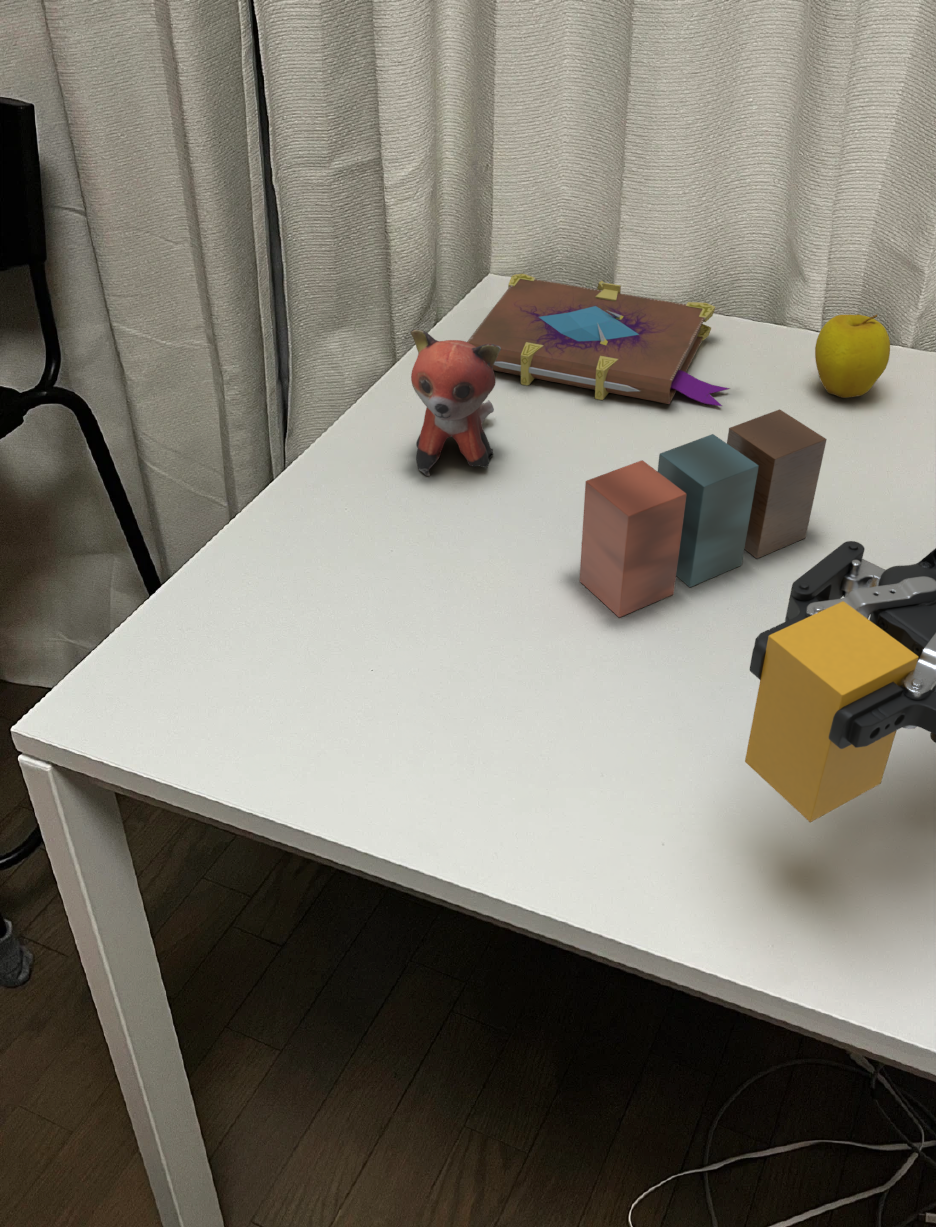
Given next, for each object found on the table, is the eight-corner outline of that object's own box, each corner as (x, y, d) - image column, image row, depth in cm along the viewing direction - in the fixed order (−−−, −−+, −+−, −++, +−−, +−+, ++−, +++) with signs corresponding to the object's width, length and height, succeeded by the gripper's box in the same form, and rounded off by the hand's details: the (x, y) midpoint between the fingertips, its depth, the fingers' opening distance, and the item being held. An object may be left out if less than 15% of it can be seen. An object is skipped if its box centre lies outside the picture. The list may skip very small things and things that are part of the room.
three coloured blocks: (762, 506, 96) (779, 408, 90) (805, 538, 93) (827, 438, 87) (578, 581, 89) (585, 480, 83) (619, 618, 86) (628, 516, 80)
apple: (892, 404, 108) (913, 323, 103) (827, 413, 107) (844, 332, 102) (859, 370, 113) (877, 291, 107) (796, 379, 112) (811, 299, 106)
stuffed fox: (520, 421, 106) (522, 296, 99) (492, 492, 98) (492, 361, 90) (438, 412, 108) (433, 287, 100) (404, 481, 99) (396, 351, 92)
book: (715, 429, 106) (721, 381, 103) (459, 379, 114) (457, 332, 110) (756, 339, 117) (763, 293, 114) (520, 298, 125) (520, 254, 121)
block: (813, 726, 66) (843, 600, 60) (881, 784, 63) (919, 656, 57) (744, 761, 64) (768, 635, 58) (810, 823, 61) (842, 695, 55)
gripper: (944, 459, 67) (707, 558, 60) (1177, 596, 57) (927, 732, 51) (914, 565, 72) (691, 668, 65) (1125, 708, 62) (890, 845, 56)
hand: (796, 695), depth 58 cm, fingers closed on block, 5 cm apart
